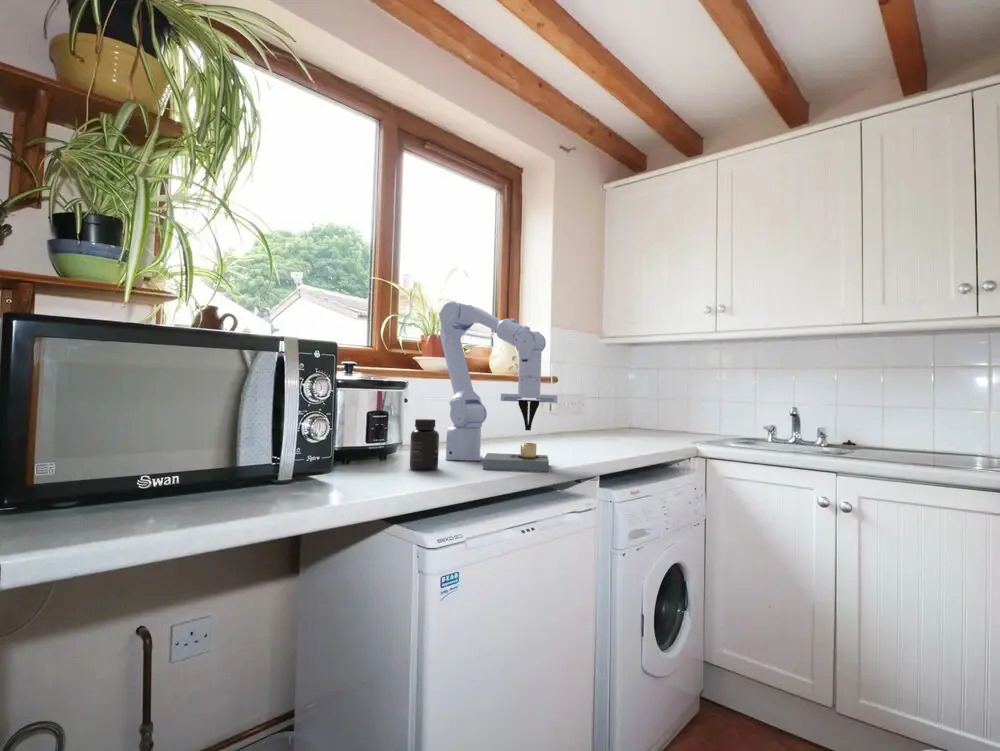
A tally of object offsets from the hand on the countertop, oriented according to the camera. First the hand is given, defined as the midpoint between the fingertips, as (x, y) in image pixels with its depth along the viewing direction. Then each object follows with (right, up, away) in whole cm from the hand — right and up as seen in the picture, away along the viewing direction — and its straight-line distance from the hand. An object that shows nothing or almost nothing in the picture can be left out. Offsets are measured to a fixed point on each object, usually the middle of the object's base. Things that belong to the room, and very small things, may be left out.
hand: (528, 430), depth 135 cm
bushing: (0, -9, -1) cm, 9 cm away
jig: (-3, -9, -1) cm, 10 cm away
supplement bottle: (-26, -9, -9) cm, 29 cm away
